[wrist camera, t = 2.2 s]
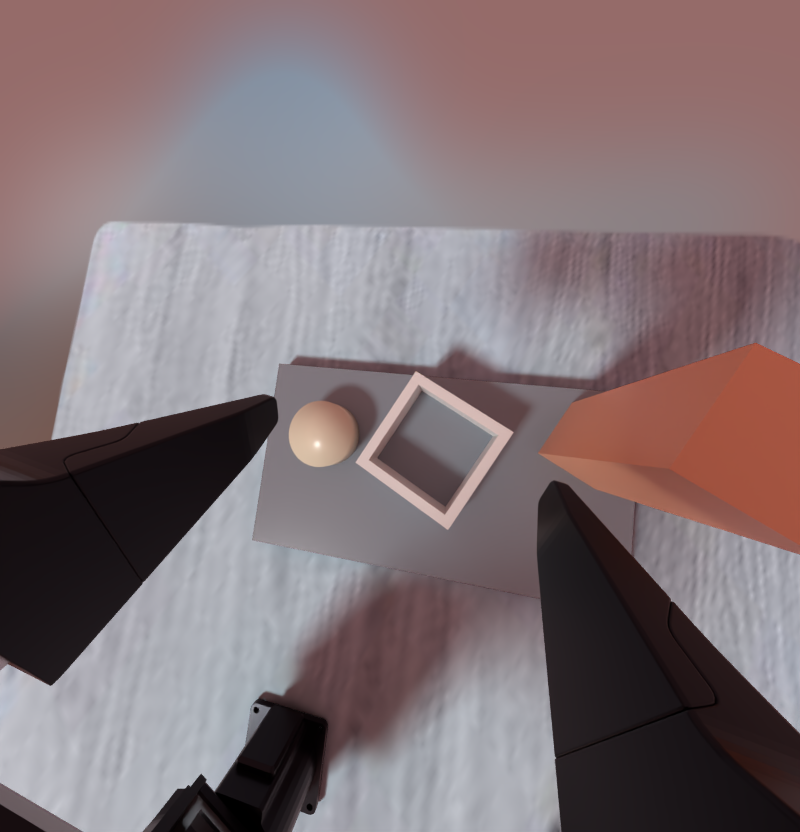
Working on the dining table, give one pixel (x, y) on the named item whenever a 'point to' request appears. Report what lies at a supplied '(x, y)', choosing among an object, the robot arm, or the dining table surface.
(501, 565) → the board
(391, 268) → the dining table surface
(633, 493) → the orange square prism
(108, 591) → the robot arm
